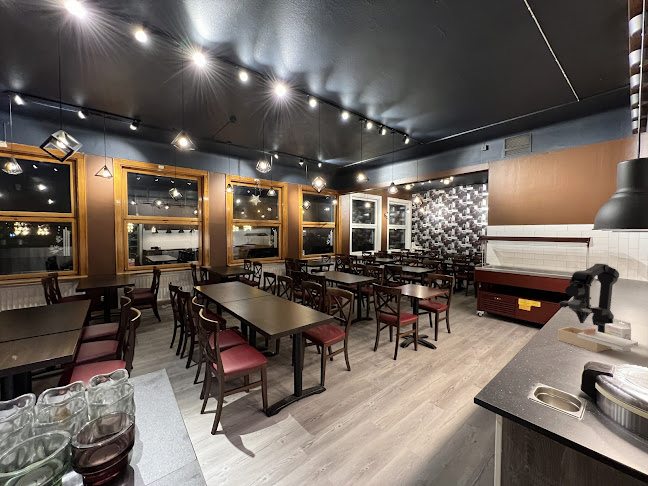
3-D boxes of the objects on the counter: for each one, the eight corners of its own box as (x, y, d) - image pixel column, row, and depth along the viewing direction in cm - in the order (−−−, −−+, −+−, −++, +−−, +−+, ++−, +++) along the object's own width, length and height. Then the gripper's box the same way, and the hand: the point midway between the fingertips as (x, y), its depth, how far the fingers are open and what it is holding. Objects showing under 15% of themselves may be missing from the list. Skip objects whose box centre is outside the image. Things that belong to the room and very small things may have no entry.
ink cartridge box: (603, 344, 144) (604, 317, 143) (612, 344, 144) (612, 317, 144) (622, 351, 135) (622, 323, 135) (631, 351, 136) (632, 322, 135)
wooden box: (570, 336, 155) (571, 326, 155) (610, 348, 139) (611, 337, 139) (557, 339, 151) (557, 329, 151) (596, 352, 135) (597, 340, 135)
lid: (592, 333, 146) (592, 326, 146) (637, 346, 130) (638, 337, 130) (577, 337, 142) (577, 329, 142) (622, 350, 126) (622, 341, 126)
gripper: (553, 292, 151) (552, 319, 151) (595, 300, 133) (595, 330, 134) (565, 291, 155) (565, 317, 155) (608, 298, 137) (607, 328, 138)
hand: (581, 323), depth 145 cm, fingers closed
